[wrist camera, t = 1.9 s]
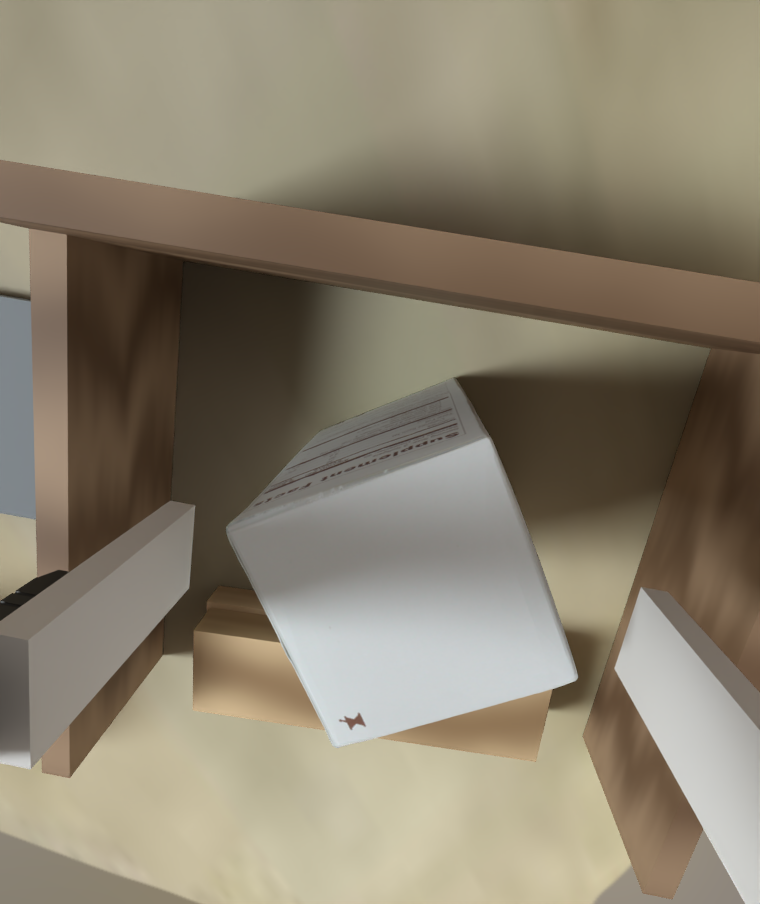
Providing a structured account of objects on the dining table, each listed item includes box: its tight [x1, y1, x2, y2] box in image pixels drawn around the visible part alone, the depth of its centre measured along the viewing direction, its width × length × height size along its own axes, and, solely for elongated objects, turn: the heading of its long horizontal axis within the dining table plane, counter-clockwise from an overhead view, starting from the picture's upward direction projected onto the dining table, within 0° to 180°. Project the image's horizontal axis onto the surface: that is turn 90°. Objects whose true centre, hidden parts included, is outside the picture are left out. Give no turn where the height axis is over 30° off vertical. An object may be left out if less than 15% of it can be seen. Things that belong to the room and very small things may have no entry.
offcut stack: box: [193, 586, 553, 762], centre depth 26 cm, size 5×18×4 cm, turn 84°
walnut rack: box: [0, 160, 760, 899], centre depth 20 cm, size 23×26×12 cm
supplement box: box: [226, 378, 578, 748], centre depth 19 cm, size 7×7×13 cm
